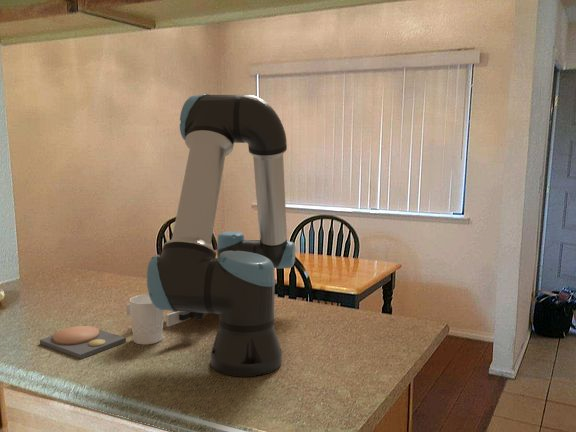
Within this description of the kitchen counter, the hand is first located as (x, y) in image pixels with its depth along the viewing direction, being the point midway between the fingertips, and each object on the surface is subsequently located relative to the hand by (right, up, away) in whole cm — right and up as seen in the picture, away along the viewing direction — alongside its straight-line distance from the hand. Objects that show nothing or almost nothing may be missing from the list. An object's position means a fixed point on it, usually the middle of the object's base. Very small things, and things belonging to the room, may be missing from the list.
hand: (146, 315), depth 122 cm
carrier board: (-14, -6, -2) cm, 16 cm away
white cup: (0, -6, 0) cm, 6 cm away
